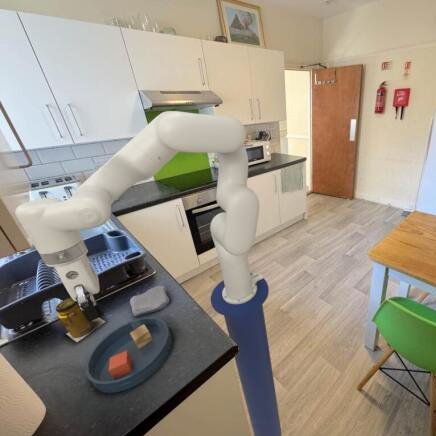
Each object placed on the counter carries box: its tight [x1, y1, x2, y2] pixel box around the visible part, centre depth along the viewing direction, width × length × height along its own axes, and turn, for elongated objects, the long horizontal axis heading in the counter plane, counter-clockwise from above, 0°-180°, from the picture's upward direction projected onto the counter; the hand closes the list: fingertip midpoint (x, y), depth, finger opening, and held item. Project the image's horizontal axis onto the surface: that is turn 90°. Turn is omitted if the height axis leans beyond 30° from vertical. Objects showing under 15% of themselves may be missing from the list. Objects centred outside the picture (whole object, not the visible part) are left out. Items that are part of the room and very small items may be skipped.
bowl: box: [85, 316, 173, 394], centre depth 69 cm, size 20×20×4 cm
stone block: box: [129, 285, 170, 317], centre depth 86 cm, size 12×5×10 cm
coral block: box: [109, 351, 132, 379], centre depth 65 cm, size 4×4×4 cm
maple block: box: [130, 324, 153, 349], centre depth 72 cm, size 4×4×4 cm
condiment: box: [55, 297, 106, 343], centre depth 77 cm, size 7×8×12 cm
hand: (95, 306), depth 62 cm, fingers open, 9 cm apart
